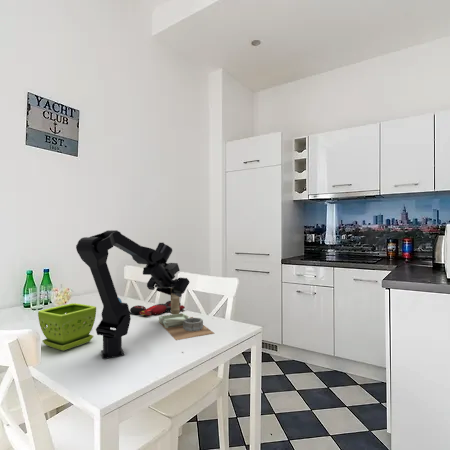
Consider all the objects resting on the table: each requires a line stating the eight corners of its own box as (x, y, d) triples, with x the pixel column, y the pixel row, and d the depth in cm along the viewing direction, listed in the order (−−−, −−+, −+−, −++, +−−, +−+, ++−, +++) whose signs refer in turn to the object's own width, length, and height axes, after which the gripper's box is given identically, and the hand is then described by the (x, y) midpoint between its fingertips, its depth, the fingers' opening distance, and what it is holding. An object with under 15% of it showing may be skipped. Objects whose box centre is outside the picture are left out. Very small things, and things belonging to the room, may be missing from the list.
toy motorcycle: (128, 315, 149) (137, 318, 136) (128, 304, 150) (136, 306, 137) (177, 309, 162) (189, 311, 148) (176, 299, 163) (189, 300, 149)
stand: (214, 336, 116) (214, 325, 116) (175, 343, 109) (175, 331, 109) (191, 318, 139) (191, 309, 139) (157, 323, 132) (157, 313, 132)
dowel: (181, 313, 130) (181, 282, 130) (173, 314, 127) (173, 283, 127) (176, 311, 132) (176, 280, 133) (169, 313, 130) (169, 281, 130)
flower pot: (98, 341, 112) (97, 306, 112) (60, 355, 100) (60, 316, 100) (74, 335, 119) (73, 301, 119) (36, 347, 107) (36, 310, 107)
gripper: (186, 257, 122) (203, 281, 131) (151, 255, 132) (169, 278, 141) (173, 281, 115) (191, 304, 124) (137, 277, 125) (157, 299, 134)
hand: (177, 295), depth 131 cm, fingers closed on dowel, 4 cm apart
